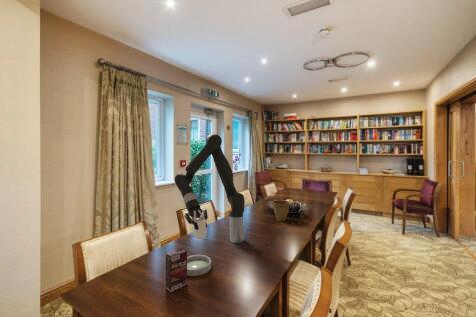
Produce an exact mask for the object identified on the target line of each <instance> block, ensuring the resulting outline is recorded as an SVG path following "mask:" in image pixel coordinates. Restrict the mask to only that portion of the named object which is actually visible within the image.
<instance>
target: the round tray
mask: <svg viewBox="0 0 476 317" xmlns="http://www.w3.org/2000/svg"><path fill="white" fill-rule="evenodd" d="M211 269H212V259H211V257H209V256H208V255H204V254H194V255H189V256H187V276H190V277H195V276H202V275H204V274H207V273H208V272H209V271H210V270H211Z"/></svg>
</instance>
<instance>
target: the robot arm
mask: <svg viewBox="0 0 476 317" xmlns="http://www.w3.org/2000/svg"><path fill="white" fill-rule="evenodd" d="M222 142H223V140H222V137H221V136H220V135H219V134H215V133H212V134H209V135H207V136H206V139H205V145H204V146H203V148H202V149H201V150H200V151H199V152H198V153H197V154H196V155H195V156H194V157H193V158H192V160H190V161H189V163H188V164H187V165H186V167H185V169H184V170H185V172H186V173H185V174H183V173H177V174H176V175H175V176H174V184H175V186H176V187H177V188H178V190H179V192H180V194H181V196H182V199H183V203H184V205H185V208H186V210H187V212H185V214H184V215H183V217H184V218H185V220H186V222H188V224H189V225H191V224H192V225H193V229H194V228H195V229H196V230H198V229H199V227H198V225H197V222H196V220H197V219H203V220H206V221H207V220H208V219H209V216H208V209H202V208H201V205H200V203H199V200H198V198H197V195H195V192H194V190H193V188H192V186H191V183H192V182H193V179H194V177H195V176H196V174H197V172H198V171H199V170H200V168H201V167H202V166H203V164H204V163H205V162H206V161H207V160H208V159H209V157H210V156H212V160H213V162H214V166H215V168H216V172H217V174H218V176H219V180H220V182H221V184H222V186H223V188H224V192H225V195H226V199H227V201H228V203H229V204H230V205H231V210H230V211H229V241H230V243H232V244H240V243H243V242H244V241H245V225H244V212H245V202H246V201H245V196H244V195H243V194H242V193H241V192H238V191H237V189H236V187H235V184H234V173H233V170H232V169H233V168H232V166H231V164H230V163H229V160H228V159H227V157H226V156H225V154H224V152H223V150H222V146H221V145H222ZM207 227H208V224H207V222H206V228H207Z"/></svg>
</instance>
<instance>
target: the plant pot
mask: <svg viewBox="0 0 476 317" xmlns="http://www.w3.org/2000/svg"><path fill="white" fill-rule="evenodd" d="M290 205H291V204H290V201H288V200H283V199H282V200H281V199H280V200H279V199H278V200H273V201H272V208H273V211H274V216H275V218H276V220H277V221H278V222H285V221H286V220H287V216H288V214H289V210H290Z"/></svg>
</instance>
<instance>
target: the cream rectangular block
mask: <svg viewBox="0 0 476 317" xmlns="http://www.w3.org/2000/svg"><path fill="white" fill-rule="evenodd" d="M196 222H197V225H198V227H199V229H198V230H196V229H195V228H194V227H193V230H194V232H193V233H194V234H193V236H194V238H197V239H202V238H206V237H207V232H206V231H207V227H206V223H207V220H203V219H199V218H197V219H196Z"/></svg>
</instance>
